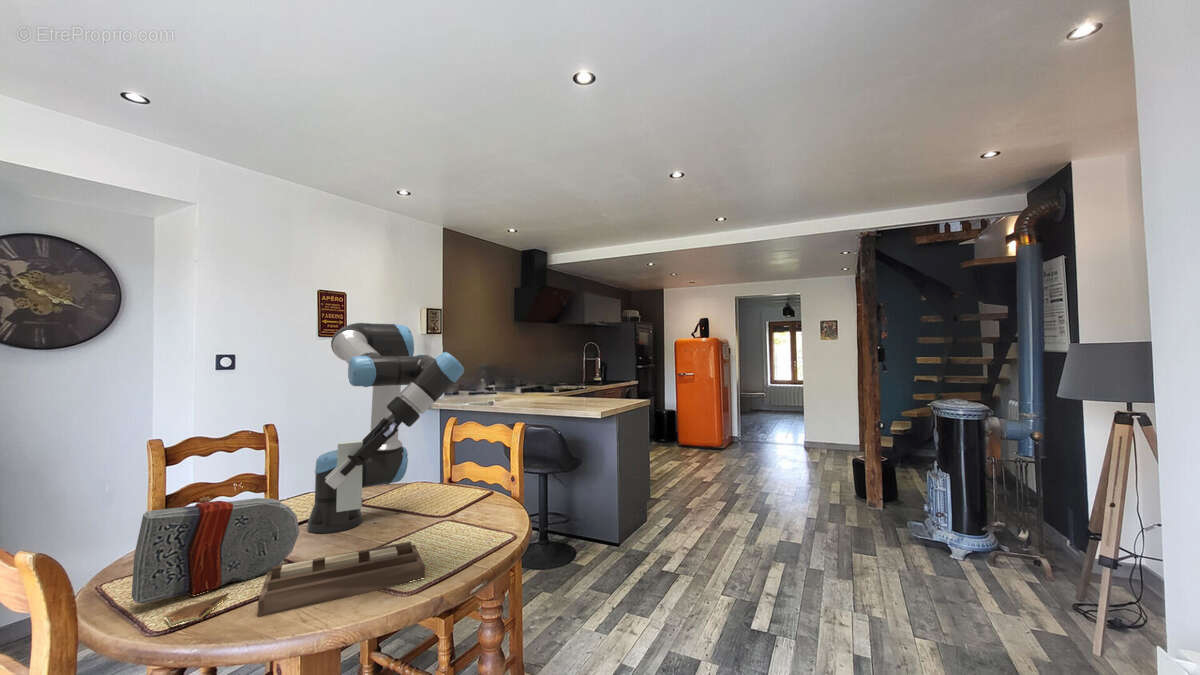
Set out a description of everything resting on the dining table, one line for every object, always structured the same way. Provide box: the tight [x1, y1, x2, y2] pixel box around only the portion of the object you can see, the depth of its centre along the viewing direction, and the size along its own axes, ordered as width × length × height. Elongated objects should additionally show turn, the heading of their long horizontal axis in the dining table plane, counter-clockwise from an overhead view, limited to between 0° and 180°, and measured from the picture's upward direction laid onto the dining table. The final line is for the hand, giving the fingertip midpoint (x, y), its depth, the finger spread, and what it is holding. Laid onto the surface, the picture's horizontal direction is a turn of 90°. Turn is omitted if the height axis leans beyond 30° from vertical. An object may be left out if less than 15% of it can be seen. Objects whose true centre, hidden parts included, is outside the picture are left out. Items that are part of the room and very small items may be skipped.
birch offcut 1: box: [280, 559, 313, 578], centre depth 107 cm, size 4×6×5 cm, turn 119°
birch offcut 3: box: [369, 547, 397, 561], centre depth 116 cm, size 4×6×4 cm, turn 120°
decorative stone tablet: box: [130, 497, 300, 605], centre depth 110 cm, size 19×6×30 cm
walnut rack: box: [257, 541, 426, 617], centre depth 110 cm, size 16×32×4 cm, turn 120°
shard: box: [163, 592, 230, 626], centre depth 97 cm, size 11×8×2 cm
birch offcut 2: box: [325, 551, 359, 570], centre depth 112 cm, size 4×7×5 cm, turn 120°
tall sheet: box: [336, 439, 363, 512], centre depth 108 cm, size 3×5×15 cm, turn 120°
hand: (330, 483), depth 106 cm, fingers closed on tall sheet, 3 cm apart
